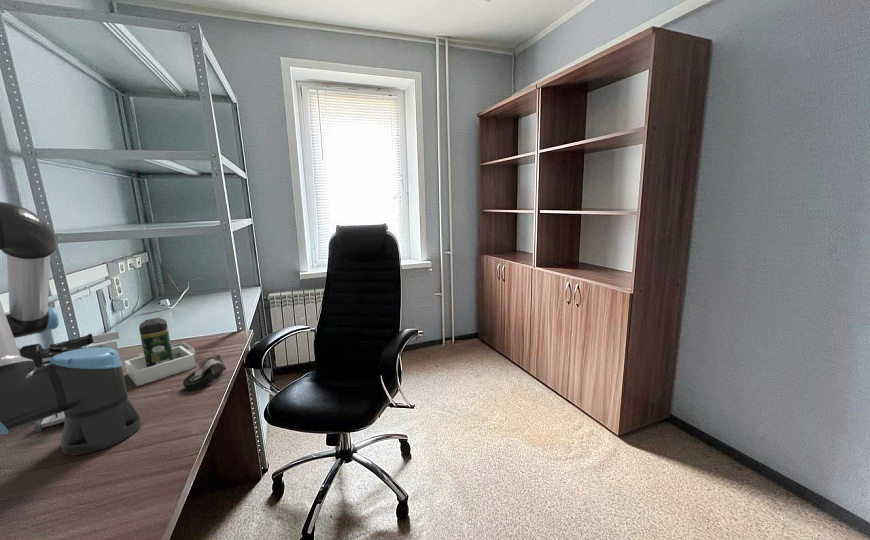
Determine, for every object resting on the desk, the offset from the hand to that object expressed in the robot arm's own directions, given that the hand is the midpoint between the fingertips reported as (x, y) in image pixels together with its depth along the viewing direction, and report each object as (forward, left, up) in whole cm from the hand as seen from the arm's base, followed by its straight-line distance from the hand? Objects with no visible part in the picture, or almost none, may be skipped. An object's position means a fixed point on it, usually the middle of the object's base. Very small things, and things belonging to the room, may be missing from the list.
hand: (118, 339), depth 117 cm
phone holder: (-15, +15, -15) cm, 26 cm away
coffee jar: (-2, -10, -14) cm, 17 cm away
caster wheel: (-26, -16, -15) cm, 34 cm away
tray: (-2, -10, -15) cm, 18 cm away
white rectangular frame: (+11, -15, -15) cm, 23 cm away
